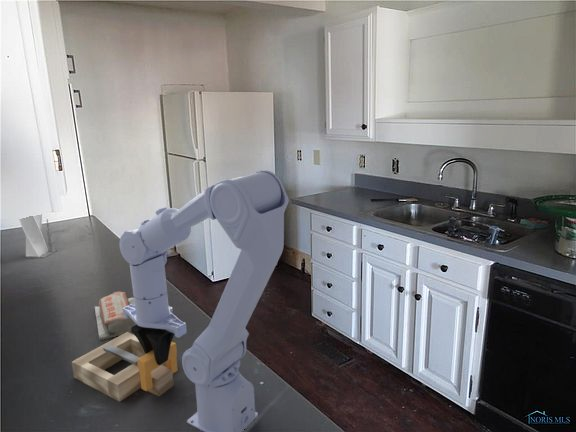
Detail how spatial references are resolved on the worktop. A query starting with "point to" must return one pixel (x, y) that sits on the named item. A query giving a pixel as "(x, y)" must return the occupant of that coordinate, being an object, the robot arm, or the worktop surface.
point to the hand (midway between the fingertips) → (158, 360)
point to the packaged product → (113, 315)
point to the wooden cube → (161, 380)
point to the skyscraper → (36, 237)
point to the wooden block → (155, 366)
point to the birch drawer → (105, 356)
